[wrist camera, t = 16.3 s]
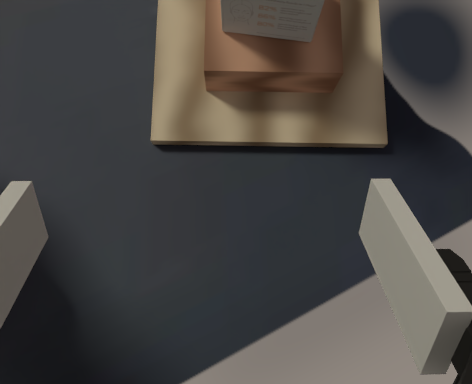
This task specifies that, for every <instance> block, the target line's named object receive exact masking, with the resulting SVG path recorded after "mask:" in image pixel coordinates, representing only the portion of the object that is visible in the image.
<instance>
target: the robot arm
mask: <svg viewBox="0 0 472 384" xmlns="http://www.w3.org/2000/svg"><path fill="white" fill-rule="evenodd" d="M359 235H360V237H361V240H362V242H363V244H364V246H365V249H366V251H367V253H368V256H369V258H370V260H371V262H372V265H373V267H374V269H375V272H376V274H377V276H378V279H379V281H380V283H381V285H382V288H383V290H384V292H385V295H386V297H387V299H388V301H389V304H390V306H391V308H392V311H393V313H394V315H395V317H396V320H397V322H398V324H399V327H400V329H401V331H402V333H403V336H404V338H405V341H406V343H407V345H408V348H409V350H410V352H411V354H412V357H413V359H414V361H415V364H416V366H417V368H418V370H419V373H420V374H421V375H424V374H446V372H447V370H448V368H449V366H450V364H451V361H452V363H453V365H454V367H455V369H456V371H457V373H458V375H457V377H456V379H455V381H454V383H453V384H472V273H471V270H470V269H469V267H468V266H467V265H466V263H465V262H464V260H463V259H462V258H461V257H459V256H458V255H457V254H455V253H454V252H453V251H451V250H450V249H435V248H434V246H433V245H432V243H431V241H430V240H429V238H428V237H427V235H426V234H425V232H424V231H423V229H422V227H421V226H420V224H419V223H418V221H417V220H416V218H415V216H414V215H413V213H412V212H411V210H410V209H409V207H408V206H407V204H406V202H405V201H404V199H403V198H402V196H401V195H400V193H399V192H398V190H397V188H396V187H395V185H394V184H393V182H392V181H391V179H371V182H370V186H369V190H368V195H367V199H366V204H365V208H364V213H363V217H362V222H361V226H360V231H359ZM47 239H48V234H47V230H46V227H45V224H44V220H43V217H42V214H41V210H40V207H39V204H38V200H37V197H36V194H35V190H34V187H33V184H32V181H11V182H10V184H9V185H8V186H7V188H6V189H5V190H4V192H3V193H2V194H1V195H0V329H1V327H2V325H3V323H4V321H5V319H6V317H7V316H8V314H9V312H10V310H11V308H12V306H13V304H14V302H15V300H16V298H17V296H18V294H19V293H20V291H21V289H22V287H23V285H24V283H25V281H26V279H27V277H28V275H29V273H30V271H31V270H32V268H33V266H34V264H35V262H36V260H37V258H38V256H39V254H40V252H41V250H42V248H43V247H44V245H45V243H46V241H47Z"/></svg>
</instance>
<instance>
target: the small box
mask: <svg viewBox="0 0 472 384" xmlns="http://www.w3.org/2000/svg"><path fill="white" fill-rule="evenodd" d="M220 1H221V20H222V31H224V32H232V33H240V34H248V35H255V36H264V37H271V38H279V39H287V40H295V41H303V42H311V41H312V38H313V35H314V32H315V29H316V26H317V23H318V20H319V16H320V13H321V10H322V7H323V4H324V1H325V0H220Z"/></svg>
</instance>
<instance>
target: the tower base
mask: <svg viewBox="0 0 472 384" xmlns="http://www.w3.org/2000/svg"><path fill="white" fill-rule="evenodd" d="M151 142H152V143H153V144H159V145H226V146H293V147H359V148H384V147H385V146H386V145H387V144H388V140H387V124H386V108H385V93H384V77H383V61H382V46H381V29H380V14H379V0H325V1H324V4H323V7H322V10H321V13H320V16H319V20H318V23H317V26H316V29H315V32H314V35H313V38H312V41H311V42H303V41H295V40H287V39H279V38H271V37H264V36H255V35H248V34H240V33H232V32H224V31H222V20H221V1H220V0H158V16H157V34H156V53H155V72H154V90H153V109H152V128H151Z"/></svg>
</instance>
